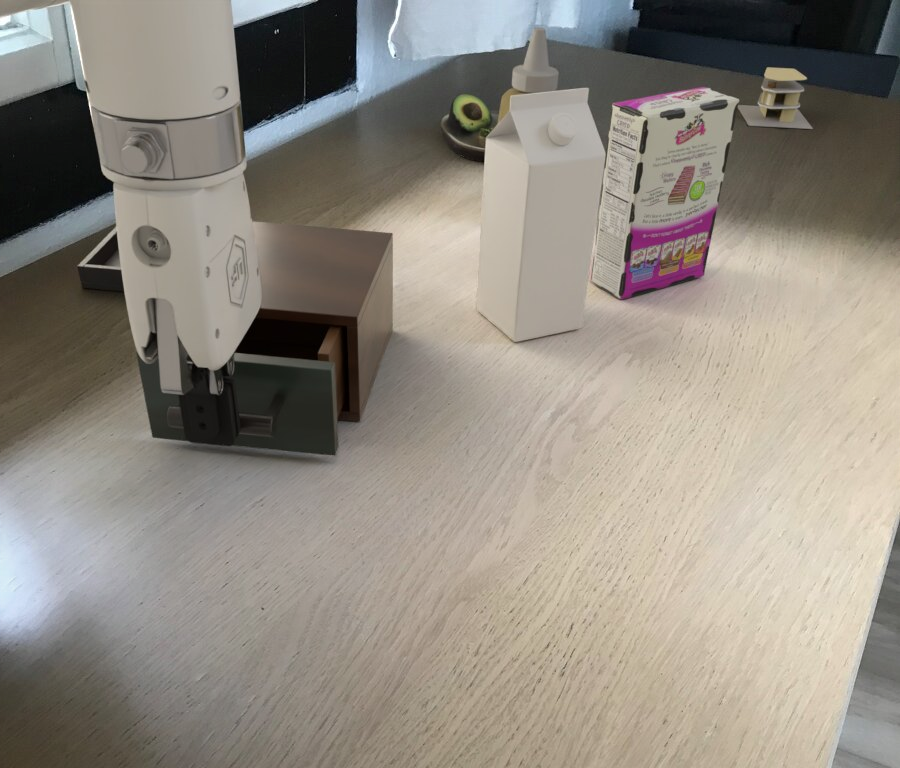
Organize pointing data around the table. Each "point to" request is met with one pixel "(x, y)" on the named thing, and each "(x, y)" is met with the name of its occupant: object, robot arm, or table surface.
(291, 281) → the cabinet
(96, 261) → the tray
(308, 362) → the drawer
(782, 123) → the stacked layers on plate
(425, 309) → the table surface
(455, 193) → the table surface
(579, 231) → the milk carton
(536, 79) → the squeeze bottle
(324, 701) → the table surface
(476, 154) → the salad plate
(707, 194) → the candy bar box
